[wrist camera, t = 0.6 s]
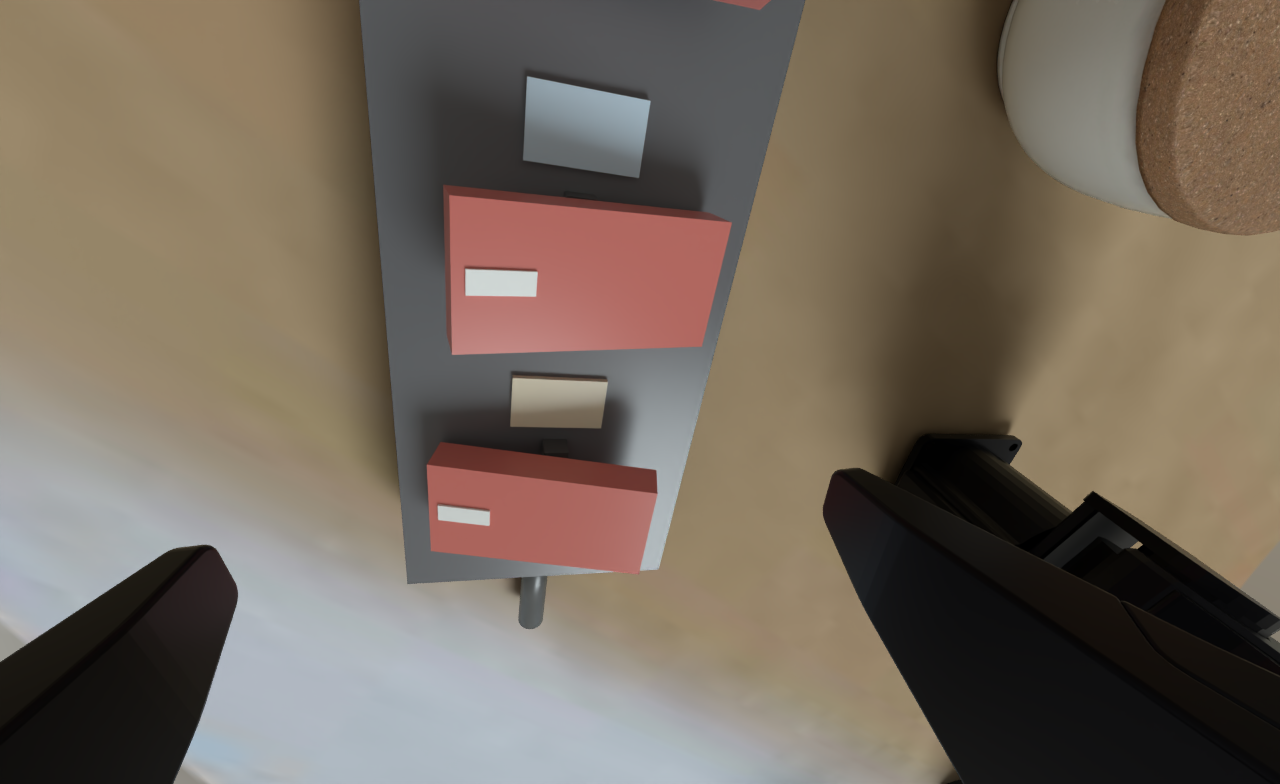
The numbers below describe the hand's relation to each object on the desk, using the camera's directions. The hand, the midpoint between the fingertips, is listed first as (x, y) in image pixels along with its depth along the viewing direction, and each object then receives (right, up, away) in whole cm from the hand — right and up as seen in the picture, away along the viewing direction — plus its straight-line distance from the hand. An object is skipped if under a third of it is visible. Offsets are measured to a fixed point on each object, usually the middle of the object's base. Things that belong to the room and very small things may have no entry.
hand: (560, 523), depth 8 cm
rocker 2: (-2, -1, +11) cm, 11 cm away
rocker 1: (-1, +6, +7) cm, 9 cm away
